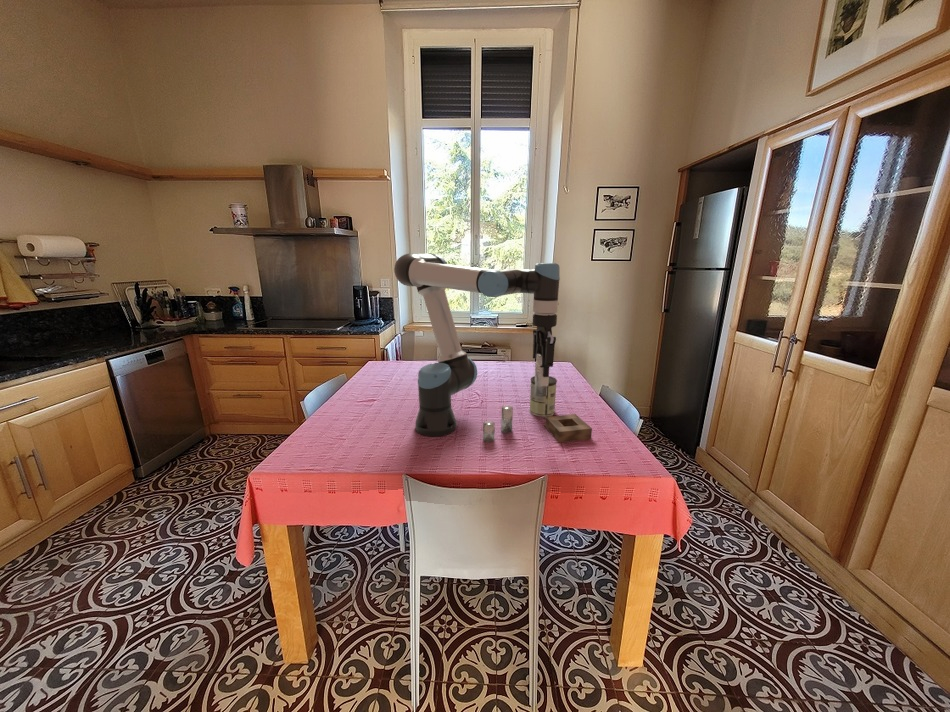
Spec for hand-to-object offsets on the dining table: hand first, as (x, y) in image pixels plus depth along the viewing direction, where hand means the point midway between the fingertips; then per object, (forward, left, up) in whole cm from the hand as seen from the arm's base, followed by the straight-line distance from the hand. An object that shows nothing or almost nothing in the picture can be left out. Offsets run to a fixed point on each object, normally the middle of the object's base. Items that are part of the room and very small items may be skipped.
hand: (541, 382), depth 118 cm
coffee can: (+10, +21, -21) cm, 31 cm away
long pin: (0, 0, -4) cm, 4 cm away
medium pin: (-9, +8, -21) cm, 24 cm away
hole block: (+12, +2, -21) cm, 24 cm away
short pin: (-17, +3, -21) cm, 27 cm away
